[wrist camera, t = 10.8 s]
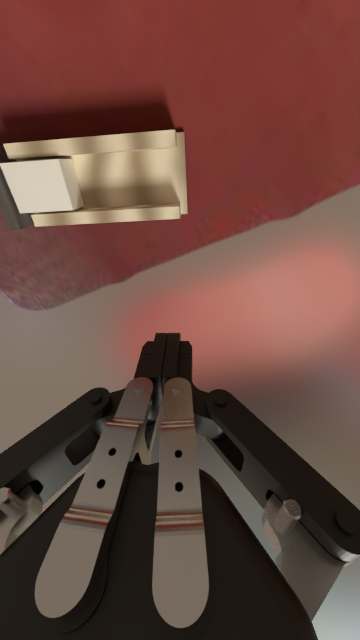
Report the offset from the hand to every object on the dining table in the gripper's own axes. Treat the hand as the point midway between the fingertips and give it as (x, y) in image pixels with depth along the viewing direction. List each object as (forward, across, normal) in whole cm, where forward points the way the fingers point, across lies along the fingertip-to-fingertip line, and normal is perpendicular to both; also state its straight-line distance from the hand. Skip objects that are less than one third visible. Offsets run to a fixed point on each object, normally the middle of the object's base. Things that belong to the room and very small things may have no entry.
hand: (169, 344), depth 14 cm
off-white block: (+28, +20, -7) cm, 35 cm away
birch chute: (+29, +12, -8) cm, 32 cm away
